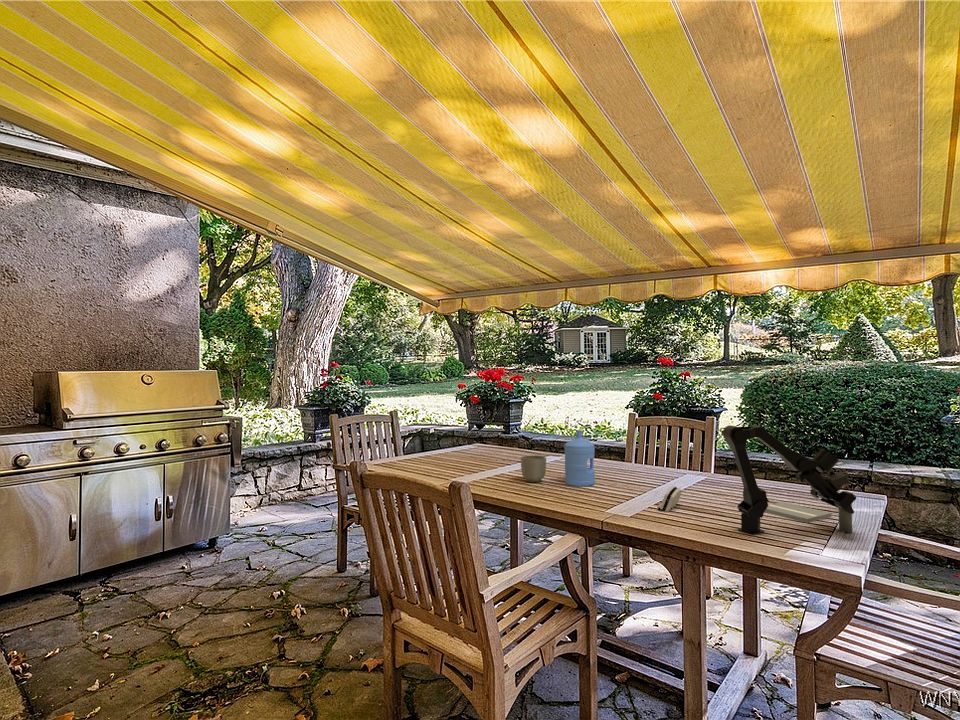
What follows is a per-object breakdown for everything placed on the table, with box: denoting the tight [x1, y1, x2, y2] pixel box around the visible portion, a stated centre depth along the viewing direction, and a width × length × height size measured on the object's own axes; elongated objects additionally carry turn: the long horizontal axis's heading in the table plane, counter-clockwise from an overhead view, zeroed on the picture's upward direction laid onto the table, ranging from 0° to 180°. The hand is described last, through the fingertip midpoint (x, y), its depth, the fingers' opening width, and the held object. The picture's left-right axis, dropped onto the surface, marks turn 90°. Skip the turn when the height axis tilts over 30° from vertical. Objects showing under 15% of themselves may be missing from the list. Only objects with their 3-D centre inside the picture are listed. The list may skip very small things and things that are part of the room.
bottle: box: [838, 503, 853, 534], centre depth 189 cm, size 4×4×14 cm
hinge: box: [656, 485, 683, 512], centre depth 225 cm, size 17×5×10 cm, turn 145°
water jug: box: [564, 429, 596, 487], centre depth 274 cm, size 16×16×28 cm
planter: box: [520, 454, 547, 483], centre depth 281 cm, size 14×14×13 cm
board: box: [764, 501, 832, 524], centre depth 213 cm, size 16×20×2 cm
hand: (849, 511), depth 189 cm, fingers closed on bottle, 4 cm apart
